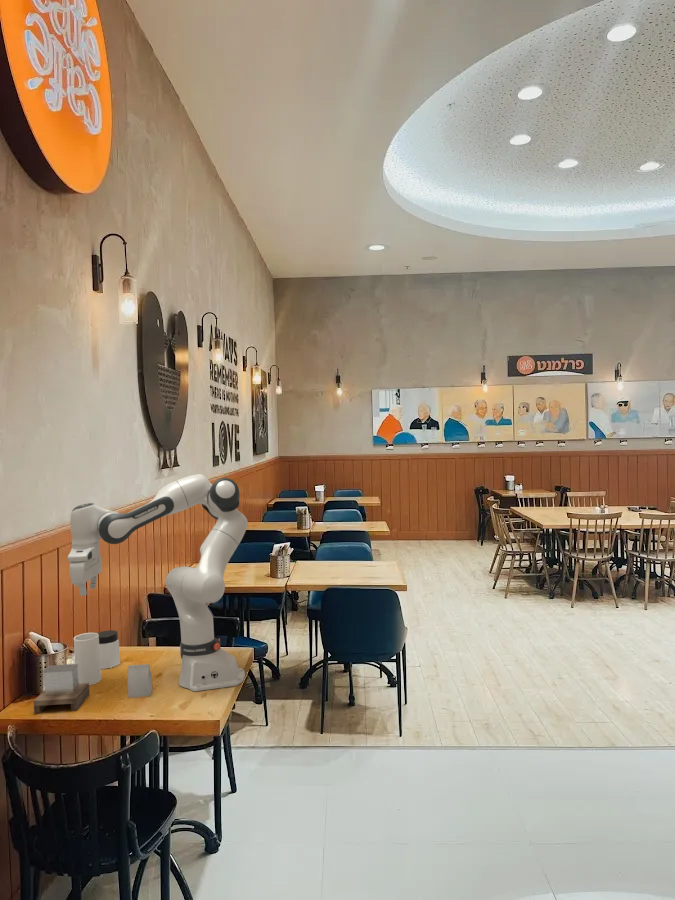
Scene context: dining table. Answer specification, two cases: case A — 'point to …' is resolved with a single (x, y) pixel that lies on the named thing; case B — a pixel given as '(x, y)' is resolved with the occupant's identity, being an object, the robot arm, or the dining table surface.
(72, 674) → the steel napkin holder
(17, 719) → the dining table surface
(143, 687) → the grey tapered block
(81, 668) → the cup
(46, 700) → the walnut shelf
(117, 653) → the jar
